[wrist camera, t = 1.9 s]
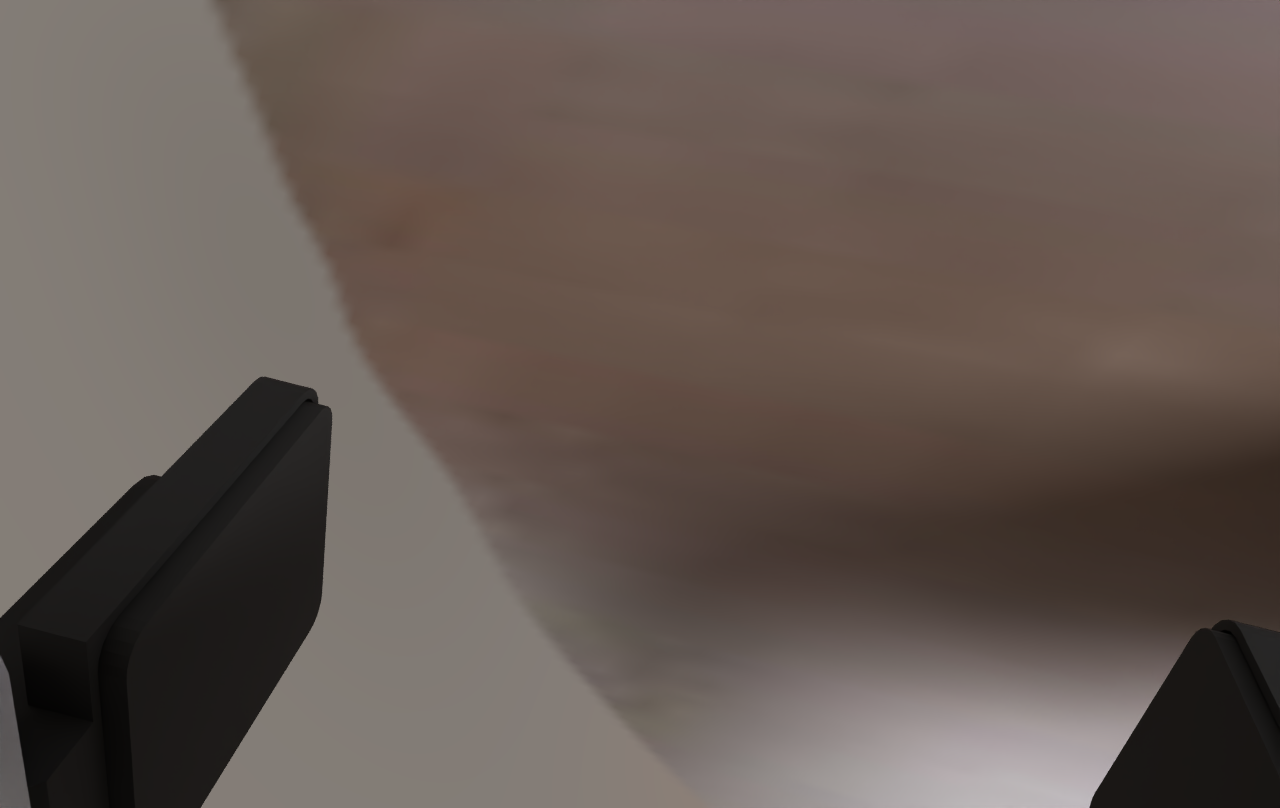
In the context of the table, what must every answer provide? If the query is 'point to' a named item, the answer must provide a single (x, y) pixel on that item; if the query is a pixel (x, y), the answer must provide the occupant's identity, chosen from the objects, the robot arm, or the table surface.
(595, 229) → the table surface
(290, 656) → the robot arm
